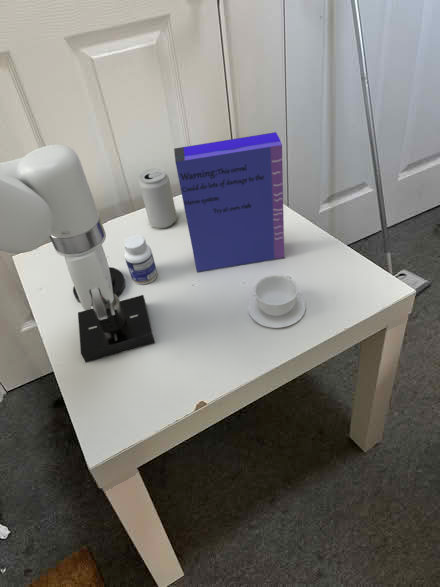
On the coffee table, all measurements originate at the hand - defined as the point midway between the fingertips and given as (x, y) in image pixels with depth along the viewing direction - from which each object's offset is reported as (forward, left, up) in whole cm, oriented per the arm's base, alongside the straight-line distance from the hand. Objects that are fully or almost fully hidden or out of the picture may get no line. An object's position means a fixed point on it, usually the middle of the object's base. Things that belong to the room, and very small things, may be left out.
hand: (111, 318), depth 79 cm
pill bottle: (+7, +13, -4) cm, 15 cm away
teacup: (+28, -5, -4) cm, 29 cm away
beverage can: (+14, +30, -4) cm, 33 cm away
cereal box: (+26, +11, -4) cm, 28 cm away
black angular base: (0, 0, -4) cm, 4 cm away
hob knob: (0, 0, -1) cm, 1 cm away
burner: (-2, +13, -4) cm, 14 cm away
